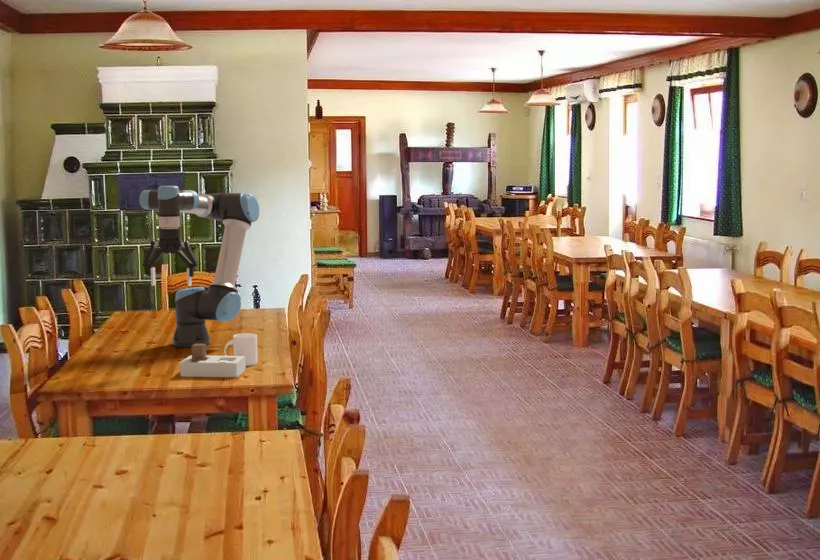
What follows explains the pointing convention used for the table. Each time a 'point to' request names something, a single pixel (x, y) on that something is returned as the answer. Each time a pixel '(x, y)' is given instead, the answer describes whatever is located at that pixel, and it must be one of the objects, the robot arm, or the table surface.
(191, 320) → the robot arm
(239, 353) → the mug
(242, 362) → the socket board
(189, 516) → the table surface
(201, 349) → the plug
